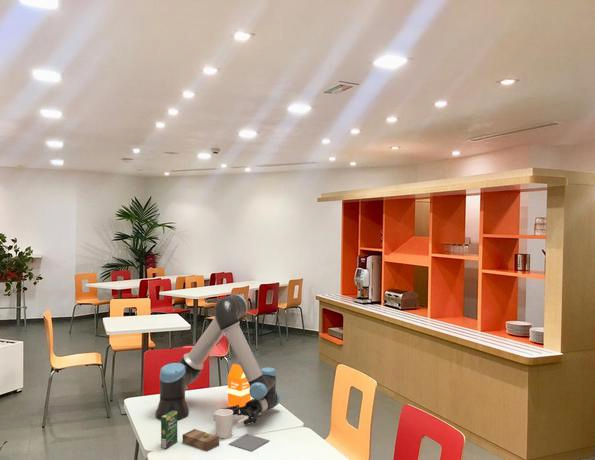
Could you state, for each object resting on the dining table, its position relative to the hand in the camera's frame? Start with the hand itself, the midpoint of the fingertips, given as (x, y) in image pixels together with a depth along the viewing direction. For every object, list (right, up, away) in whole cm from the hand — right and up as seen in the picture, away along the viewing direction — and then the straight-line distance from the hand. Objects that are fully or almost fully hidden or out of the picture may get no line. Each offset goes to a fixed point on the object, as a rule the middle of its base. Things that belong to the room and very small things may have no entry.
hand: (225, 421), depth 218 cm
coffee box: (-22, -6, -10) cm, 25 cm away
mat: (+11, -6, -8) cm, 15 cm away
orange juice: (+1, -6, +38) cm, 38 cm away
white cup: (-1, -6, 0) cm, 6 cm away
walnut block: (-9, -6, -9) cm, 14 cm away
